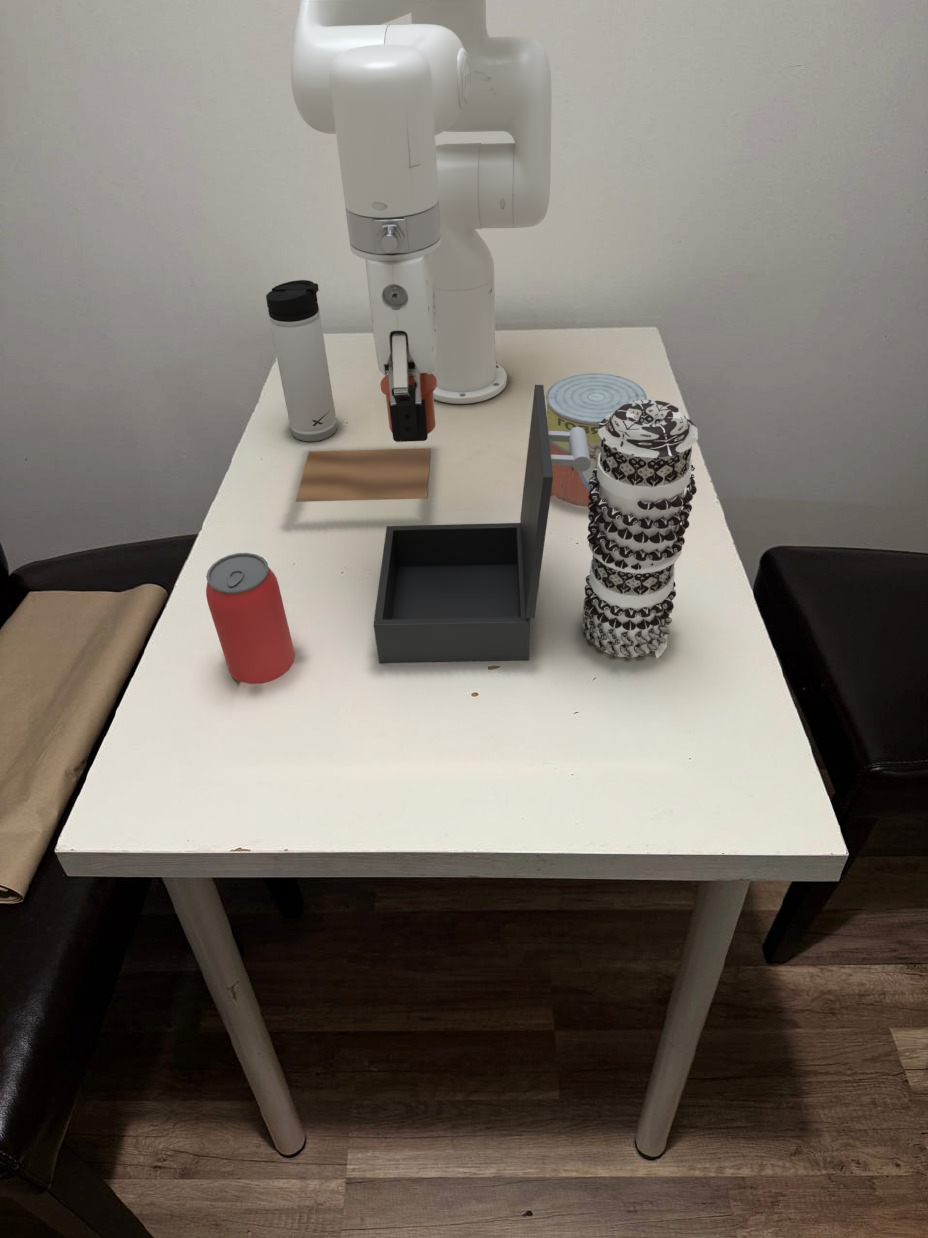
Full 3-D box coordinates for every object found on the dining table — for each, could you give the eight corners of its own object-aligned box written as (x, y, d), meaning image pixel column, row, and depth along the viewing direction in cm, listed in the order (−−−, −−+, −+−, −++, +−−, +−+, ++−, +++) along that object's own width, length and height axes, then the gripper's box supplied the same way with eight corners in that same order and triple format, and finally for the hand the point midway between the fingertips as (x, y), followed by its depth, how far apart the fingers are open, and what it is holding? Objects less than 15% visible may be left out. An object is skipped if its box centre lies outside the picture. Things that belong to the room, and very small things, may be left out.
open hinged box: (379, 668, 87) (373, 625, 83) (391, 568, 99) (386, 525, 95) (529, 666, 87) (529, 622, 83) (523, 565, 98) (524, 522, 94)
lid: (543, 476, 72) (600, 479, 72) (534, 384, 84) (583, 386, 84) (525, 618, 82) (575, 620, 82) (520, 518, 94) (563, 520, 94)
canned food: (558, 518, 104) (561, 427, 96) (534, 467, 112) (535, 380, 104) (650, 504, 106) (661, 413, 98) (619, 454, 114) (627, 367, 106)
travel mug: (331, 444, 119) (308, 296, 105) (284, 440, 120) (255, 294, 106) (345, 420, 123) (324, 275, 110) (300, 417, 124) (274, 273, 111)
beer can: (219, 686, 86) (189, 592, 78) (241, 639, 91) (214, 546, 83) (285, 691, 85) (261, 597, 77) (303, 644, 90) (283, 550, 82)
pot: (387, 412, 87) (382, 369, 84) (440, 411, 87) (437, 367, 84) (383, 441, 83) (378, 396, 80) (438, 439, 83) (435, 394, 80)
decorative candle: (680, 618, 91) (717, 395, 74) (659, 680, 85) (695, 452, 68) (593, 598, 94) (610, 379, 77) (567, 656, 87) (579, 432, 70)
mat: (309, 454, 117) (308, 451, 117) (430, 450, 116) (430, 447, 116) (289, 526, 105) (289, 523, 105) (425, 523, 105) (424, 520, 104)
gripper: (437, 265, 66) (450, 472, 78) (442, 190, 79) (452, 378, 91) (336, 269, 66) (365, 474, 79) (358, 193, 79) (379, 381, 91)
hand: (412, 421), depth 85 cm, fingers closed on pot, 5 cm apart
